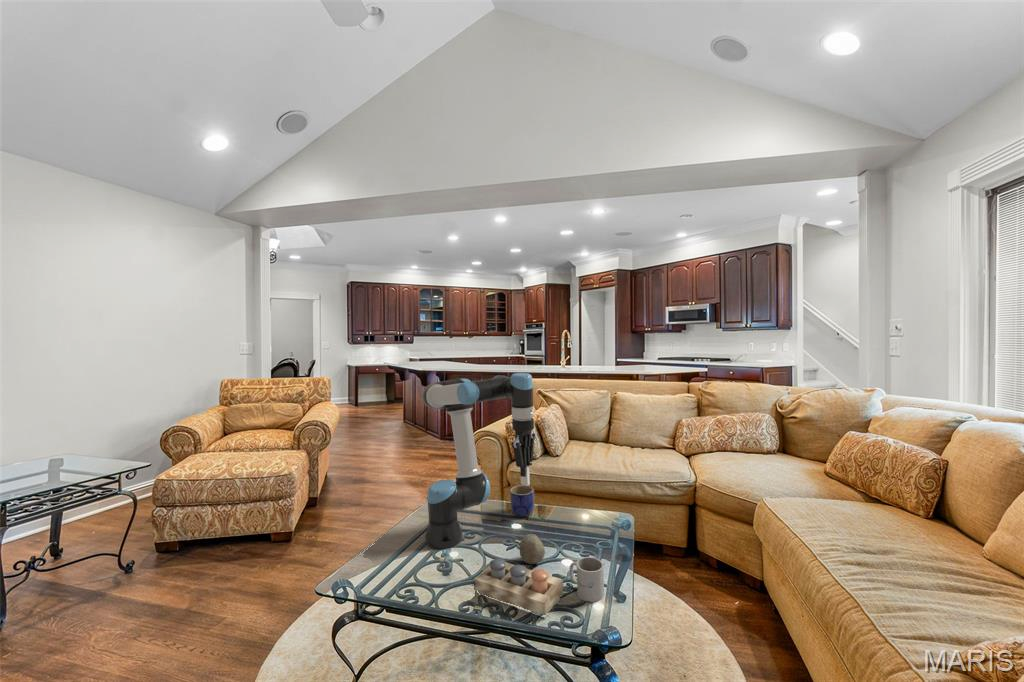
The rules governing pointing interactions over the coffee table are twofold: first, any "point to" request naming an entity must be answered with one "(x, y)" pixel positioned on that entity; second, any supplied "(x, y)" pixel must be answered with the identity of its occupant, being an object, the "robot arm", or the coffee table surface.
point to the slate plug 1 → (497, 568)
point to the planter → (522, 500)
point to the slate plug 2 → (518, 575)
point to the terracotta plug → (539, 581)
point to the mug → (589, 578)
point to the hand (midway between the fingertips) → (525, 484)
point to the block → (519, 590)
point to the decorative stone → (531, 549)
